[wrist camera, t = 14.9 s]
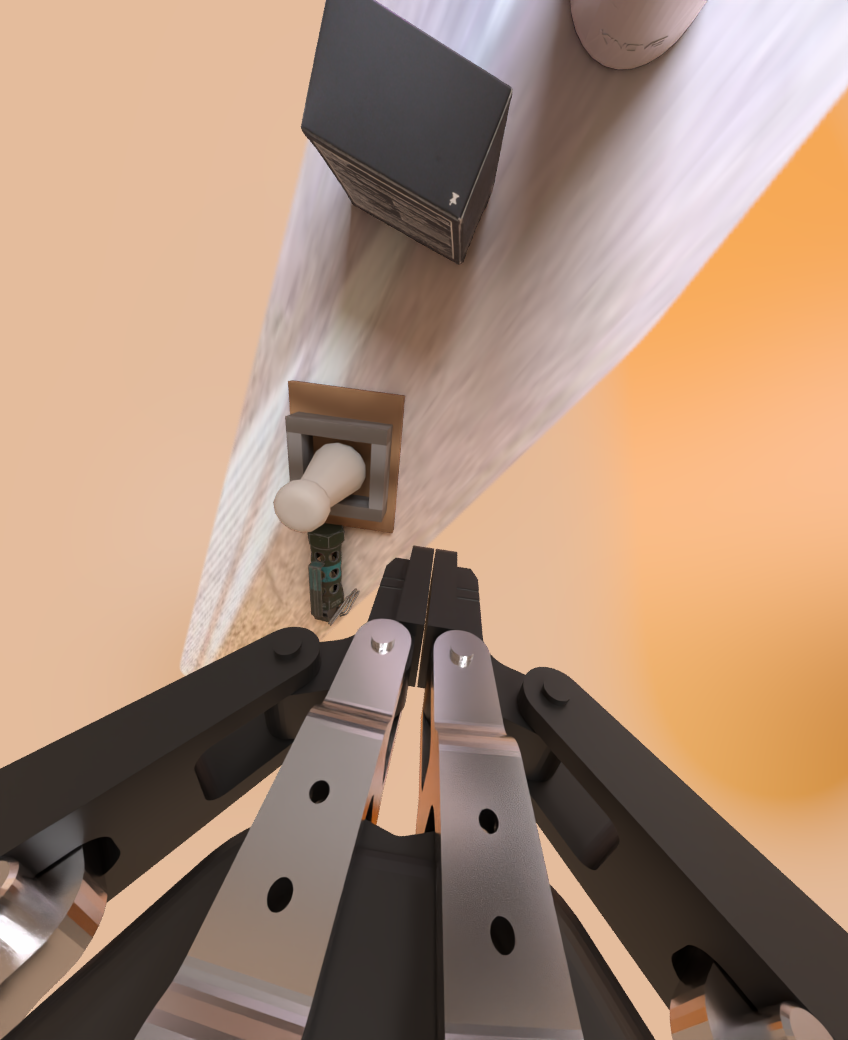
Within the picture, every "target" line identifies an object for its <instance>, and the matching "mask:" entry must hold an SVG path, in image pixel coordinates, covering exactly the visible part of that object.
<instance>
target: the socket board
mask: <svg viewBox="0 0 848 1040" xmlns="http://www.w3.org/2000/svg"><path fill="white" fill-rule="evenodd" d="M288 388H289V402H290V415H288V416H285V420H286V433H287V447H288V460H289V474H290V481H292V480H301V478H302V476H303V474H304V472H305V471H306V469H307V467H308V465H309V463H310V462H311V460H312V458H313V456H314V454H315V453H316V451H317V450H319V449H320V448H321V447H322V446H324V445H325V444H330V443H338V442H339V443H342V444H346V445H349V446H351V447H353V448H354V449H355V450H356V451H357V452H358V453H359V454H360V455H361V457H362V459H363V461H364V463H365V468H366V477H365V480H364V482H363V483H362V485H361V487H360V489H358V490H357V491H355V492H354V493H352V494H351V495H349V496H348V497H346V498H344V499H343V500H341V501H340V502H338V503H337V504H335V505H334V506H332V507H331V508H330V513H329V515H328V517H327V519H326V521H325V523H328V524H335V525H342V526H348V527H355V528H362V529H369V530H375V531H382V532H389V533H393V530H394V520H395V509H396V497H397V485H398V473H399V461H400V450H401V438H402V426H403V414H404V402H405V396H403V395H396V394H389V393H381V392H374V391H367V390H359V389H352V388H345V387H337V386H330V385H322V384H315V383H308V382H300V381H293V380H292V381H288Z"/></svg>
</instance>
